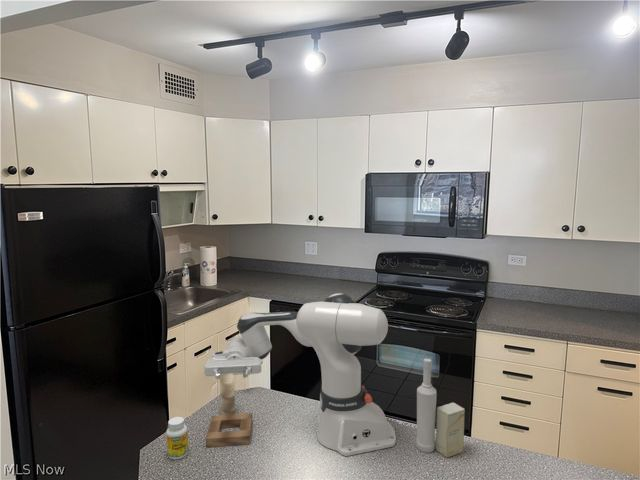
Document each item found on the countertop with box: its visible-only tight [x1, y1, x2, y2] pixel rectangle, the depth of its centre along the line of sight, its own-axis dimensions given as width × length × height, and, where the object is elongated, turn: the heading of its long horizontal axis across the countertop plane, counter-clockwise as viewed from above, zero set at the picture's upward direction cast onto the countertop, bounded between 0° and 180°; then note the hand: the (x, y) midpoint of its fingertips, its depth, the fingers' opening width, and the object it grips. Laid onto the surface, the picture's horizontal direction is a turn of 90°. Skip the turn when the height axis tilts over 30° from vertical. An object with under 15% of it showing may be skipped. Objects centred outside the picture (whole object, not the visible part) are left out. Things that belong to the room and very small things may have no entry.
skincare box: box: [435, 402, 466, 458], centre depth 112 cm, size 6×4×12 cm
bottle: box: [415, 358, 438, 454], centre depth 113 cm, size 5×5×25 cm
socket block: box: [205, 412, 253, 448], centre depth 122 cm, size 12×12×2 cm
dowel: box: [219, 373, 236, 415], centre depth 133 cm, size 4×4×12 cm
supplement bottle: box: [165, 416, 190, 460], centre depth 112 cm, size 5×5×10 cm
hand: (231, 376), depth 145 cm, fingers open, 8 cm apart
